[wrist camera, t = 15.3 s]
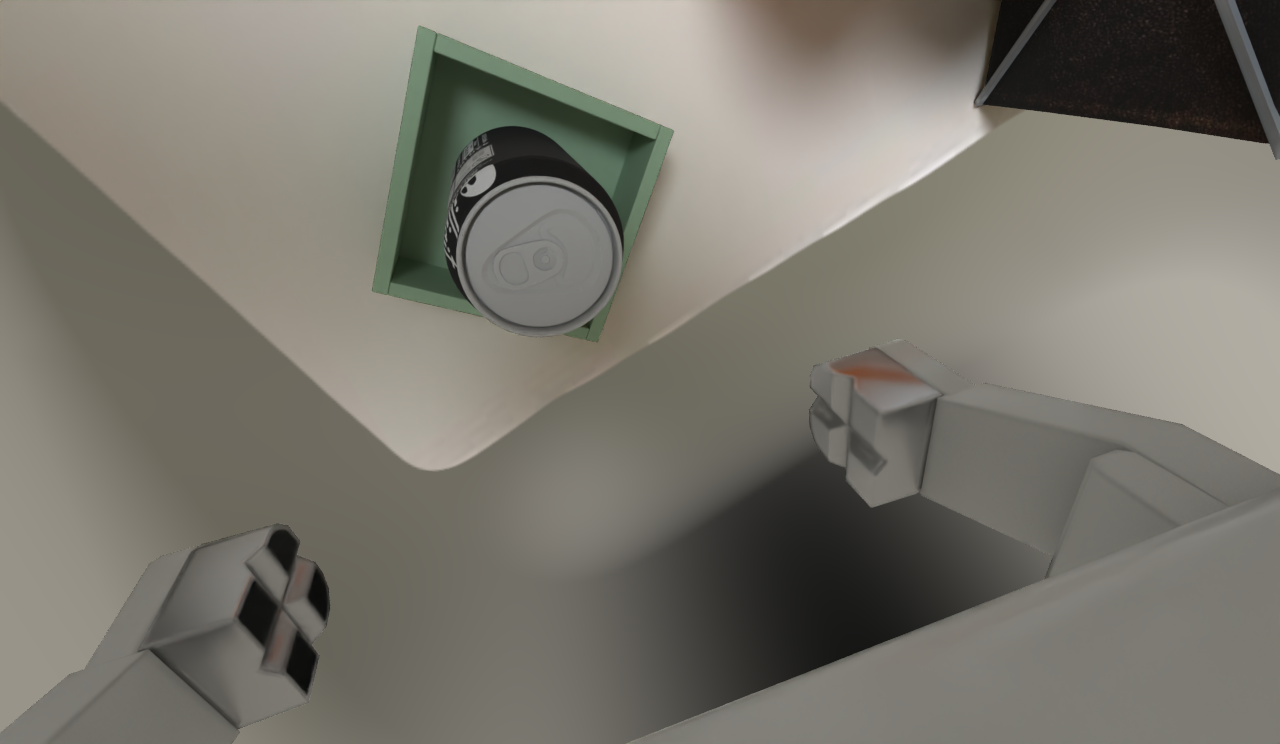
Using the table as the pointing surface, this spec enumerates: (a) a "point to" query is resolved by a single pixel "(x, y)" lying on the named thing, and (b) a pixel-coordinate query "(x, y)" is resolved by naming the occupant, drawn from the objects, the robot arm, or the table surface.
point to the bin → (467, 107)
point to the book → (1143, 63)
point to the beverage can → (530, 234)
